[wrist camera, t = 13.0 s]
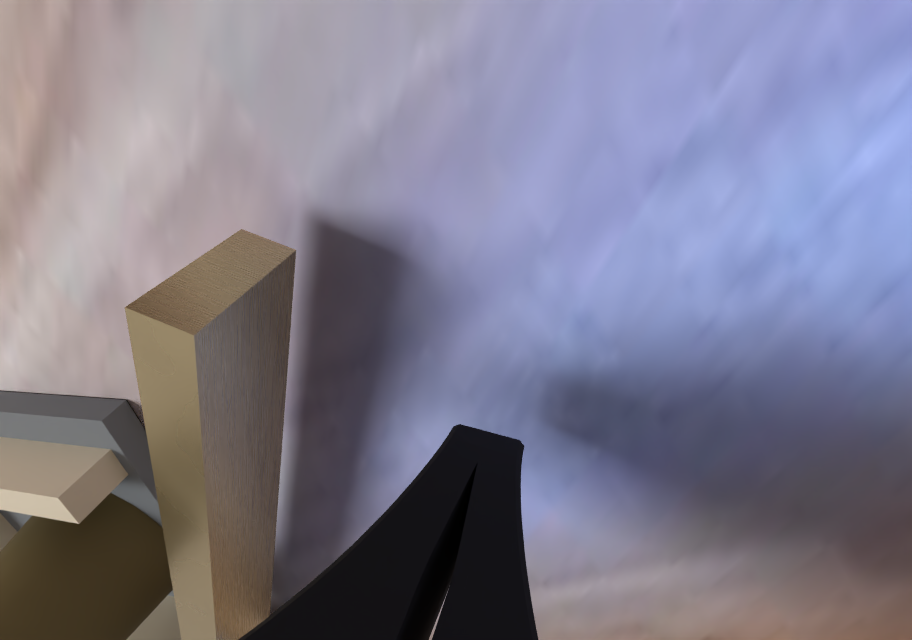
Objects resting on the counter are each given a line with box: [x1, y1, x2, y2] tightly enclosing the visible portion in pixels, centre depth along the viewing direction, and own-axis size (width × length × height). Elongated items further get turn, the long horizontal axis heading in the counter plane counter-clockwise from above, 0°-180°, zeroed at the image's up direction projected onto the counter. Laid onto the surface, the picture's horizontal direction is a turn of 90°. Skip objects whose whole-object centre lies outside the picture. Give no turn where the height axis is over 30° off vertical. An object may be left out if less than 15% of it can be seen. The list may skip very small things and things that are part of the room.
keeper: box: [125, 229, 296, 640], centre depth 16 cm, size 21×2×3 cm, turn 166°
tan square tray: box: [0, 391, 181, 640], centre depth 22 cm, size 13×13×3 cm
